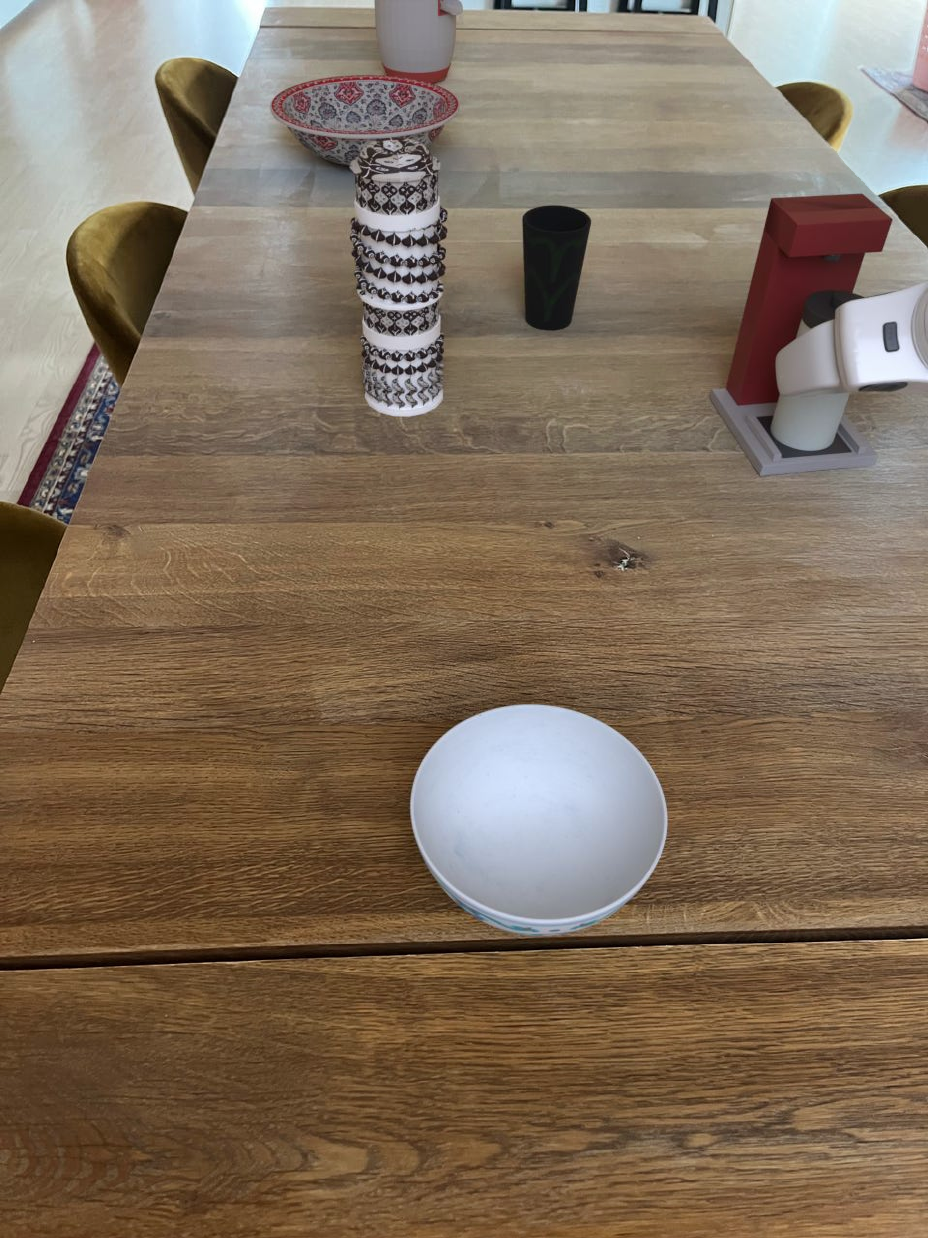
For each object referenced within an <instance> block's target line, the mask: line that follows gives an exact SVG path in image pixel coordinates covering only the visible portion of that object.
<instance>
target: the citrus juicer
mask: <svg viewBox="0 0 928 1238" xmlns="http://www.w3.org/2000/svg"><path fill="white" fill-rule="evenodd" d="M463 12H464V7H463V3H462V1H461V0H374V22H375V34H376V42H377V47H378V53H379V56H380V59H381V65H382V68H383V70H384V73H385V76H396V77H404V78H410V79H416V80H420V81H425V82H428V83H432V84H434V83H437V82H441V81H443V80H445V79H446V78H447V76H448V74H449V71H450V69H451V65H452V60H453V56H454V52H455V45H456V38H457V16H459V15H461V14H462V13H463Z"/></svg>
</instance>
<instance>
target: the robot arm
mask: <svg viewBox="0 0 928 1238" xmlns="http://www.w3.org/2000/svg"><path fill="white" fill-rule="evenodd" d="M863 297H864V298H861V299H856V300H851V301H848V302H846V303H844V304H842V305H841V306H839V307H838V308H837V309H836V310H835V319H833V320H830V321H827V322H824V323H822V324H820V325H817V326H815V327H814V328H812V329H810V330H808V331H807V332H805V333H804V334H802V335H801V336H799V337H798V338H796V339H795V340H794V341H792V342H791V343H789V344H788V345H787V346H785V347H784V348H783V349H782V350H781V351H780V352H779V353H778V354H777V357H776V378H777V385H778V390H779V392H780V394H781V395H782V396H784V397H788V398H789V397H811V396H817V395H824V394H837V393H850V394H851V393H860V392H862V393H863V392H864V393H865V392H867V393H869V392H881V393H883V392H885V393H892V392H893V393H899V394H904V395H910V396H921V397H922V396H923V397H924V398H927V399H928V279H926V280H924V281H921V282H918V283H917V284H914V285H912V286H908V287H906V288H902V289H899V290H894V291H889V292H885V293H879V294H875V295H870V296H863Z"/></svg>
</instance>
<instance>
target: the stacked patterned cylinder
mask: <svg viewBox="0 0 928 1238" xmlns="http://www.w3.org/2000/svg"><path fill="white" fill-rule="evenodd" d="M441 164H442V163H441V162H440V161H439V160H438V159H437V158H436V157H435V156H433V155H432V154H431V152H430V151H429V148H428V147H427V148H426V147H425V146H424V145H423V144H422V143H420V142H418V141H415V140H412V139H407V138H383V139H379V140H375V141H372V142H370V143H368V144H367V145H365V146H364V147H363V149H362V150H361V153H360V155H359V156H358V157H357V158H355V159H354V160H352V161H351V164H350V165H349V169H350V170H351V171H352V172H353V174H354V188H355V193H356V194H355V197H354V201H353V204H354V217H352V218H351V219H350V223H349V224H350V226H351V228H350V231H351V233H350V235H349V240H350V241H351V242H352V246H353V248H352V249H351V252H350V254H351V256H352V257H354V263H355V270H354V272H353V275H354V277H355V278H356V281H357V284H356V285H355V290H356V293H357V295H358V296H359V298H360V300H361V301H362V309H363V316H362V321H361V325H362V331H361V336H360V338H359V341H360V343H361V344H362V349H361V353H360V354H361V355H360V356H361V357H363V365H362V367H361V372H362V374H363V376H364V378H363V380H362V387H364V389H365V392H364V399H365V401H366V403H367V405H368V407H370V408H372V409H373V410H375V411H376V412H378V413H379V414H384V415H387V416H391V417H406V418H407V417H408V418H409V417H415V416H419V415H425V414H427V413H429V412H431V411H433V410H435V409H437V408H438V406H440V404H441V403H443V400H444V385H443V383H444V382H445V377H443V376H444V375H445V372H444V371H443V370H444V369H445V367H446V366H445V364H444V363H442V361H443V360H444V355H443V354H444V353H445V348H444V347H443V346H444V340H445V334H444V333H443V332H442V330H441V328H442V327H441V322H442V321H441V315H440V310H439V309H440V302H439V301H440V299H441V297H443V294H444V293H443V292H445V290H444V283H443V282H442V281H441V280H440V278H441V277H443V276H444V275H445V274H446V269H447V267H446V264H445V263H443V262H442V261H443V260H445V259H446V253H447V249H446V247H444V246H442V245H441V244H440V242H441V241H443V240H445V239H446V238H447V236H448V228H447V226H445V225H443V224H444V223H445V222H447V220H448V214H449V213H448V210H447V209H446V208H444V207H442V205H441V197H440V195H439V171H440V170H441Z"/></svg>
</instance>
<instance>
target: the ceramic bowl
mask: <svg viewBox="0 0 928 1238" xmlns="http://www.w3.org/2000/svg"><path fill="white" fill-rule="evenodd" d="M460 108H461V104H460V99H458V97H457V96H456V95H455V93H453V92H451V91H450V90H448V89H447V88H444V87H442V86H440V85H438V84H434V83H428V82H425V81H420V80H416V79H410V78H404V77H396V76H387V75H383V74H381V75H380V74H378V75H377V74H355V75H353V74H352V75H340V76H331V77H323V78H318V79H313V80H309V81H304V82H301V83H298V84H296V85H293V86H291V87H288V88H285V89H284V90H282V91H280V92H279V93H277V94H276V95H275V96H274V97H273V98H272V100H271V102H270V104H269V110H270V113H271V115H272V116H273V118H274V119H275V120H276V121H277V122H279V123H280V124H282V125H283V126H286V127H287V128H288V130H289V131H290V133H291V134H292V135H293V137H294V138H295V139H296V140H297V141H298V142H299V144H301V145H302V146H304V148H305V149H307V150H308V151H309V152H310V153H313V154H314V155H315V156H317V157H320V158H321V159H323V160H326V161H329V162H331V163H335V164H340V165H345V166H350V164H351V161H352V160H354V159H355V158H357V157H358V156H359V155H360V153H361V150H362V149H363V147H364V146H365V145H367V144H368V143H370V142H372V141H375V140H379V139H383V138H407V139H412V140H415V141H418V142H420V143H422V144H423V145H424V146H425V147H426V148H427V149H428V147H430V146H431V145H433V143H434V142H435V141H436V139H438V137H439V135H440V134H441V132H442V131H443V129H444V127H445V125H446V124H448V123H450V122H451V121H453V120H454V119H455V118H456V117H457V116H458V115H459V112H460Z"/></svg>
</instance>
